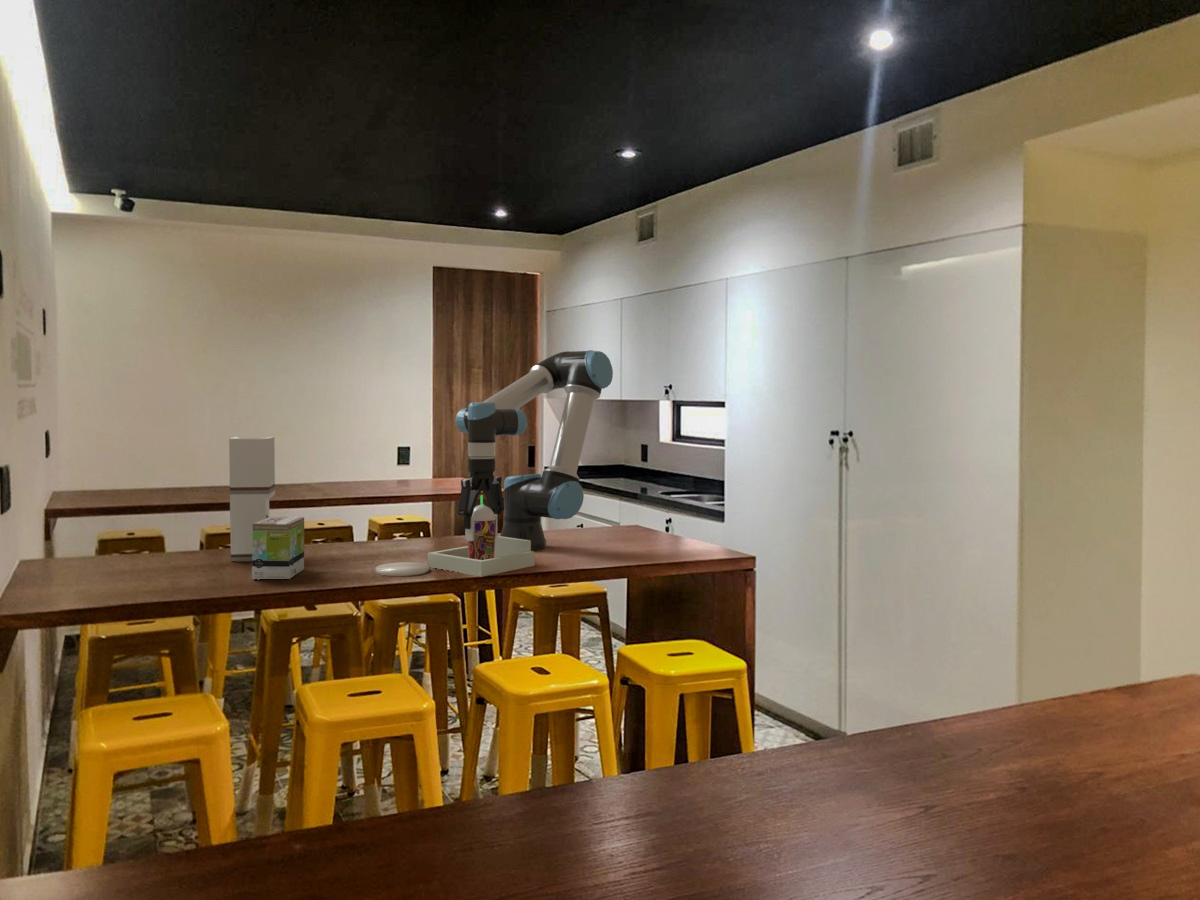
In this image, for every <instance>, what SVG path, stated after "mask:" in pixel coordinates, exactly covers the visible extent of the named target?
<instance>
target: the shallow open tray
mask: <svg viewBox="0 0 1200 900" xmlns="http://www.w3.org/2000/svg"><path fill="white" fill-rule="evenodd" d="M535 554H536V553H535V551H531V540H523V539H516V538H509V537H502V536H500V535H497V537H495V548H494V558H491V559H486V560H477V559H470V558H469V548H468V546H462V547H460V546H459V547H456V548H449V549H442V550H438V551H431V552H427V565H428V566H429V567H431V568H430V569H435V568H437V569H436V570H441V569H443V570H442V571H446V570H449V571H448V572H452V571H454V572H453V573H458V572H459V574H464V575H470V576H476V577H482V578H483V577H487V576H492V575H496V574H500V573H501V574H502V573H505V572H511V571H516V570H520V569H526V568H530V567H535V562H536V561H535V558H536V557H535Z"/></svg>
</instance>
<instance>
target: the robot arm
mask: <svg viewBox="0 0 1200 900" xmlns="http://www.w3.org/2000/svg"><path fill="white" fill-rule="evenodd" d="M613 375H614V370H613V366H612V363H611V359H610V358H609V357H608V355H607V354H605V353H604V352H602V351H600V350H599V351H598V350H591V349H590V350H582V351H581V350H577V351H574V350H573V351H570V350H569V351H562V352H557V353H556V354H553V355H550V356H548V357H546V358H545V359H543V360H541V361H540V362H538V363H537V364H535V365H532V367H530V369H529V372H528V373H527V374H525V375H523V376H522V377H520V378H519V379H517V380H515V381H514V382H512V383H511V384H509V385H508V386H506V387H504V388H503V389H500V391H498V392H495V394H493V395H492V396H489V398H487V399H485V400H483V401H482V402H479V401H477V402H475V401H474V402H470V403H469V404H468V407H466V408H461V409H460V410H458V412H457V414H456V416H455V426H456V428H457V429H458V430H459V432H461V433H463V434H467V441H468V443H467V445H468V446H467V448H468V449H467V456H468V457H469V458H468V459H467V471H468V472H469V476H468V478H467V479H466V478H464V479H463V478H461V479H460V485H461V486H460V487H461V488H460V489H461V490H460V494H459V495H460V496H459V503H458V509H457V515H458V516H461V517H463V528H464V531H465V533H464V534H465V535H464V540H465V541H467V542H468V541H474V517H472V514H473V511H474V508H475V507H476V506H477V501H478V498H479V496H480V495H481V492H483V493H484V496H485V498H486V502H487V504H488V507H489V508H491V509H492V510H493V512H494V514H495V517H497V519H496V532H495V537H497V536H498V525H499V523H500V521H499V520H500V517H499V515H501V514H502V513H503V525H502V529H501V532H500V535H499V536H502V537H509V538H516V539H523V540H531V551H534V552H535V551H542V550H544V549H546V548H547V539H546V538H545V533H544V530H543V527H542V526H543V525H542V518H547V519H548V518H549V519H555V520H568V519H572V518H573V517H574V516H576V515H577V514H578V512H579V511H580V509H581V508H582V505H583V503H584V498H585V497H584V494H585V493H583V492H584V489H583V487H582V485H581V484H580V480H581V479H580V477H579V476H578V474H577V472H578V468H579V464H580V460H581V455H582V451H583V447H584V443H585V440H586V435H587V432H588V431H587V430H588V427H589V422H590V418H591V414H592V410H593V405H594V402H595V401H596V400H597V399H600V397H601V395H602V389H603V390H604V389H606V388H608V387H609V386H610V385H611V384H612V381H613ZM557 389H564V391H565V393H566V398H565V403H564V406H563V411H562V415H561V418H560V422H559V426H558V430H557V435H556V437H555V438H556V439H555V442H554V445H553V450H552V455H551V459H550V463H549V466H548V467H546V468H545V469H543V470H542V473H541V474H540V473H532V474H531V473H530V474H524V475H523V474H521V475H511V476H510V475H509V476H507V477H505V479H504V481H503V478H502V476H495V475H494V473H495V471H496V459H495V458H494V457H496V436H497V437H498V436H503V437H504V436H513V437H514V436H518V435H522V434H523V433H525V432H526V430H527V427H528V417H527V415H526V414H525V412H524V411H523V410H521V409H520V408H521V407H523V406H524V405H526V404H528V403H529V402H531V401H532V400H534V399H535V398H537V397H538V396H539V395H541V394H548V393H550V392H552V391H553V390H554V391H555V390H557ZM502 481H503V490H502Z"/></svg>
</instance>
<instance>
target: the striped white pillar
mask: <svg viewBox="0 0 1200 900" xmlns="http://www.w3.org/2000/svg"><path fill="white" fill-rule="evenodd" d="M228 444H229V445H228V446H229V447H228V448H229V449H228V451H229V454H228V455H229V460H228V461H229V464H228V465H229V520H230V521H229V522H230V525H229V526H230V530H229V531H230V535H229V536H230V562H231V561H236V562H252V539H253V523H256V522H258V521H261V520H263V519H265V518H268V517H270V499H271V498H272V497H275V495H276V470H275V469H276V467H275V466H276V463H275V458H276V457H275V454H276V453H275V436H270V437H259V438H254V437H253V438H252V437H251V438H250V437H248V438H246V437H245V438H244V437H243V438H242V437H241V438H240V436H234V437H230V438H228Z"/></svg>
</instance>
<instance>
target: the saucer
mask: <svg viewBox="0 0 1200 900" xmlns="http://www.w3.org/2000/svg"><path fill="white" fill-rule="evenodd" d="M429 571H430V570H429V566H428V564H426V563H423V562H410V561H409V562H407V561H405V562H403V561H402V562H390V563H383V564H380V565H378V566H375V574H377V575H379V576H384V575H386V576H387V577H411V576H413V575H414V576H419V575H424V574H427V573H428V572H429ZM426 572H427V573H426ZM386 576H385V577H386Z"/></svg>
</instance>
